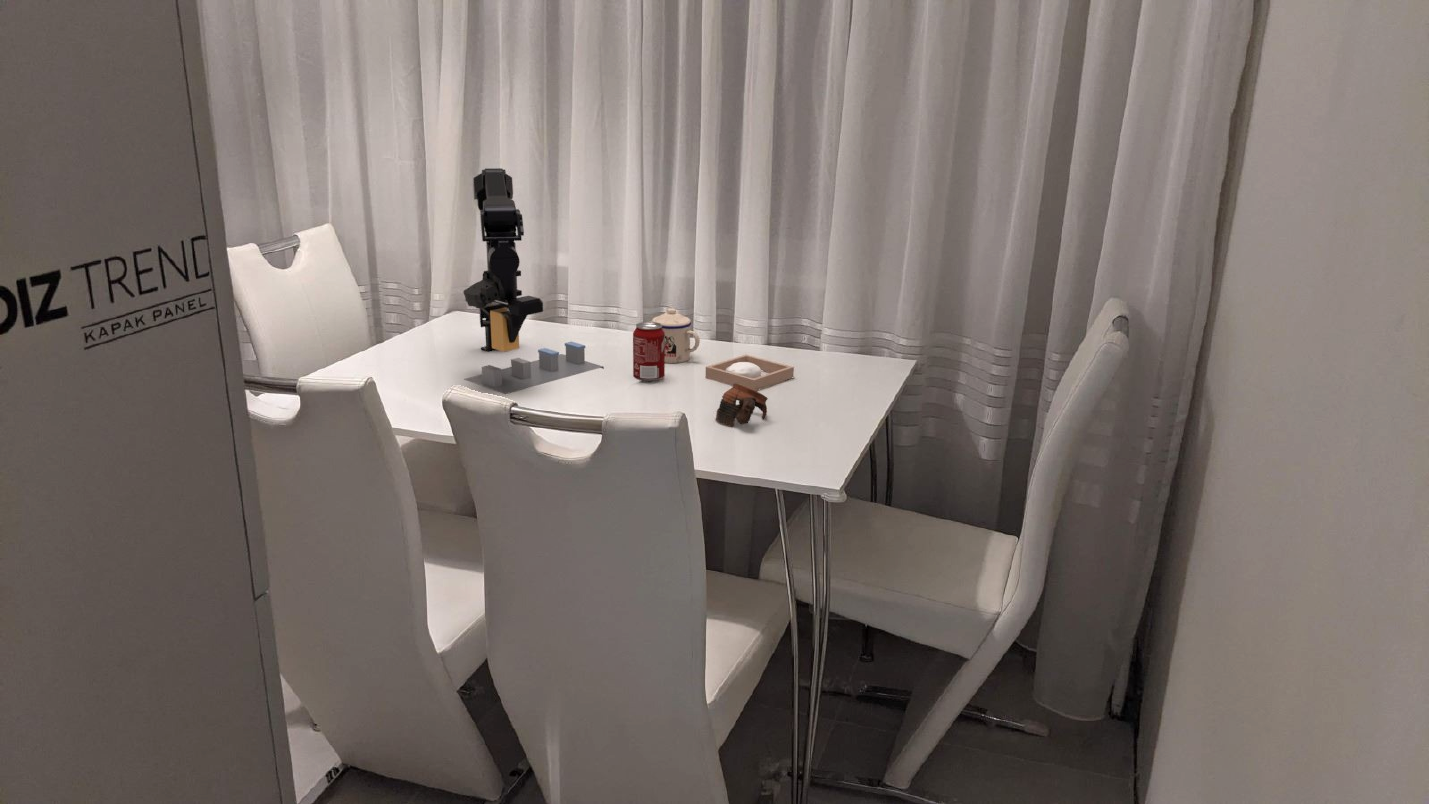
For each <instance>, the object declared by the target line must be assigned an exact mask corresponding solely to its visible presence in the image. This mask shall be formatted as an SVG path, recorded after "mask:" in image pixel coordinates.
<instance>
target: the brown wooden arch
mask: <svg viewBox="0 0 1429 804" xmlns="http://www.w3.org/2000/svg"><path fill="white" fill-rule="evenodd" d="M767 400H769V399H768V397H767V396H765V395H764V394H762V393H761V392H758V390H757V391H755V390H753V389H750V388H748V387H746V386H743V385H740V384H737V383H734V384H733V386H732V387H731V388H729V389H727V390H726V392H724V393H723V395H722V399H721V400H720V402H719V403H720V404H719V407H718V408H717V410H716V415H715V421H717V422H720V423H721V424H723V425H726V426H728V427H730V428H733V427H734V423H735V421H736V422H737V423H739V424H740V425H748V424H749V423H750V422H749V421H750V420H751V417H752V414H753V413H754V411H755V408H758V409H759V410H760V411H761V412H762V415H761V419H762V420H765V419H766V417H767V414H768V410H767V409H768V408H767V404H766V403H767ZM737 401H738V404H737Z"/></svg>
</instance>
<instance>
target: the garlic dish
mask: <svg viewBox="0 0 1429 804" xmlns="http://www.w3.org/2000/svg"><path fill="white" fill-rule="evenodd" d="M737 362H749V363H753V364H755V365H757V366H758V367H759V368H760V369H761V370H763V371H762V372H764V371H766V373H767V374H763V375H761V376H760V377H757V378H754V379H753V378H749V377H746V376H742V375H739V374H735V373H731V372H728V371H726V369H727V368H728V367H730V366H731V365H732V364H734V363H737ZM794 368H795V366H792V365H789V364H784V363H780V362H776V361H772V360H769V359H764V358H761V357H757V356H753V355H750V354H742V355H740V356H736V357H734V358H730V359H727V360H724V361H723V360H722V361H720V362H717V363H714V364H711V365H708V366H705V379H708V380H712V381H715V382H718V383H723V384H726V385H729V386H732V385H733V384H734V383H737V384H740V385H743V386H746V387H748V388H750V389H753V390H755V391H757V392H758V391H760V390H763V389H765V387H766V388H768V386H769V387H771V386H770V385H772V386H773V385H774V386H775V385H778V384H781V383H783V382H786V381H788V380H787V379H789V380H791V379H790V378H792V377H793V378H794V373H795V371H794ZM768 372H769V373H768ZM793 378H792V379H793ZM785 380H786V381H785ZM762 388H763V389H762ZM759 389H760V390H759Z"/></svg>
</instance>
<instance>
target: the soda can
mask: <svg viewBox="0 0 1429 804" xmlns="http://www.w3.org/2000/svg"><path fill="white" fill-rule="evenodd" d="M661 327H662V324H660V323H657V322H652V321H641V322H638V323H636V325H635V329H634V330H633V332H632V376H633V378H634V379H636V380H639V381H641V382H643V383H654V382H659V381H661V379H663V378H664V377H665V376H666V375H665V371H666V370H665V367H666V366H665V364H666V363H665V333H664V331H663V329H662V328H661Z"/></svg>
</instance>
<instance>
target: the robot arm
mask: <svg viewBox="0 0 1429 804" xmlns="http://www.w3.org/2000/svg"><path fill="white" fill-rule="evenodd" d="M472 179H473V182H472V183H473V184H472V187H473V200H476V204H477V207H478V211H479V212H480V213H479V215H480V216H479V219H480V231H481V241H482V242H485V243H486V245H485V246H486V248H485V249H486V267H487V270H484V271H483V273H482V280H480V281H478V282H475V283H474V284H471V285H470V286H469V287H467V288H466V289H464V290H463V291H462V292H463V295H464V299H465V302H466V303H467V305H468V307H474V308H476V309H479V326H480V328H484V330H485V333H484V334H485V346H482V347H480V350H481V351H485V352H487V353H490V352H494V351H497V350H496V349H493V348H492V340H491V320H490V310H495V309H500V308H505V307H506V308H508V311H506V312H501V314H502V315H503V316H504V317H505V318H506V322H507V331H508V338H509V342H510V343H513V342H515V340H516V337H517V335H518V333H519V332H520V330H521V328H522V327H523V324H524V322H525V320H526V319H527V317H528V316H529V315H534V314H538V313H542V312H544V302H543V300H542V299H541V298H540V297H536V296H532V295H525V296H522V295H523V292H522V289H518V277H522V270H519V268H520V267H519V266H520V262H521V261H520V257H519V254H518V251H517V249H516V248H517V247H516V242H517V241H518V242H520V241H522V237H524V236H525V235H524V234H525V230H524V219H523V214H522V213H521V210H520V209H519V208H518V209H517V208H516V203H515V200H514V199H513V198H514V188H513V187H514V185H513V184H514V183H513V177H512V176H511V175H509V174H507V173H506V169H503V168H499V167H498V168H497V167H495V168H493V167H492V168H488V167H487V168H484V169H481V173H480V174H477V175H476V176H474V177H473V178H472ZM515 241H516V242H515ZM519 334H520V333H519Z"/></svg>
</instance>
